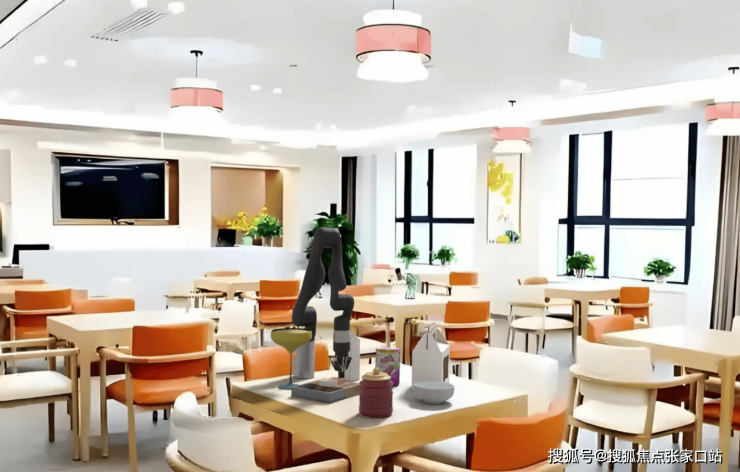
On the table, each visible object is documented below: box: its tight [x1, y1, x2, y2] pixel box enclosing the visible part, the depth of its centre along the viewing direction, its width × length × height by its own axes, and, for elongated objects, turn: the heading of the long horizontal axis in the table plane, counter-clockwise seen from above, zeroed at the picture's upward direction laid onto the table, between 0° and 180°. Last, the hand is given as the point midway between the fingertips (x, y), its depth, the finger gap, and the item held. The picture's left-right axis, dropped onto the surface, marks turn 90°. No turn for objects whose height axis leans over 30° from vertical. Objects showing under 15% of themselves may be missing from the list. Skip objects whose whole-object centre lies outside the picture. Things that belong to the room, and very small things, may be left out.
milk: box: [345, 331, 361, 382], centre depth 341 cm, size 6×6×22 cm
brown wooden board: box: [308, 377, 361, 399], centre depth 314 cm, size 20×12×4 cm, turn 56°
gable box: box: [411, 322, 451, 392], centre depth 329 cm, size 22×13×28 cm, turn 165°
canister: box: [358, 367, 394, 419], centre depth 279 cm, size 13×13×18 cm
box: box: [290, 382, 347, 404], centre depth 305 cm, size 20×11×4 cm, turn 56°
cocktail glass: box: [270, 327, 312, 391], centre depth 324 cm, size 18×18×25 cm
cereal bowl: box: [413, 381, 455, 405], centre depth 300 cm, size 17×17×7 cm
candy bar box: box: [374, 346, 402, 386], centre depth 332 cm, size 11×5×16 cm, turn 84°
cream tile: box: [318, 378, 338, 387], centre depth 310 cm, size 6×5×2 cm
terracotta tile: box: [326, 376, 345, 385], centre depth 314 cm, size 6×5×2 cm
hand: (341, 380), depth 318 cm, fingers closed
